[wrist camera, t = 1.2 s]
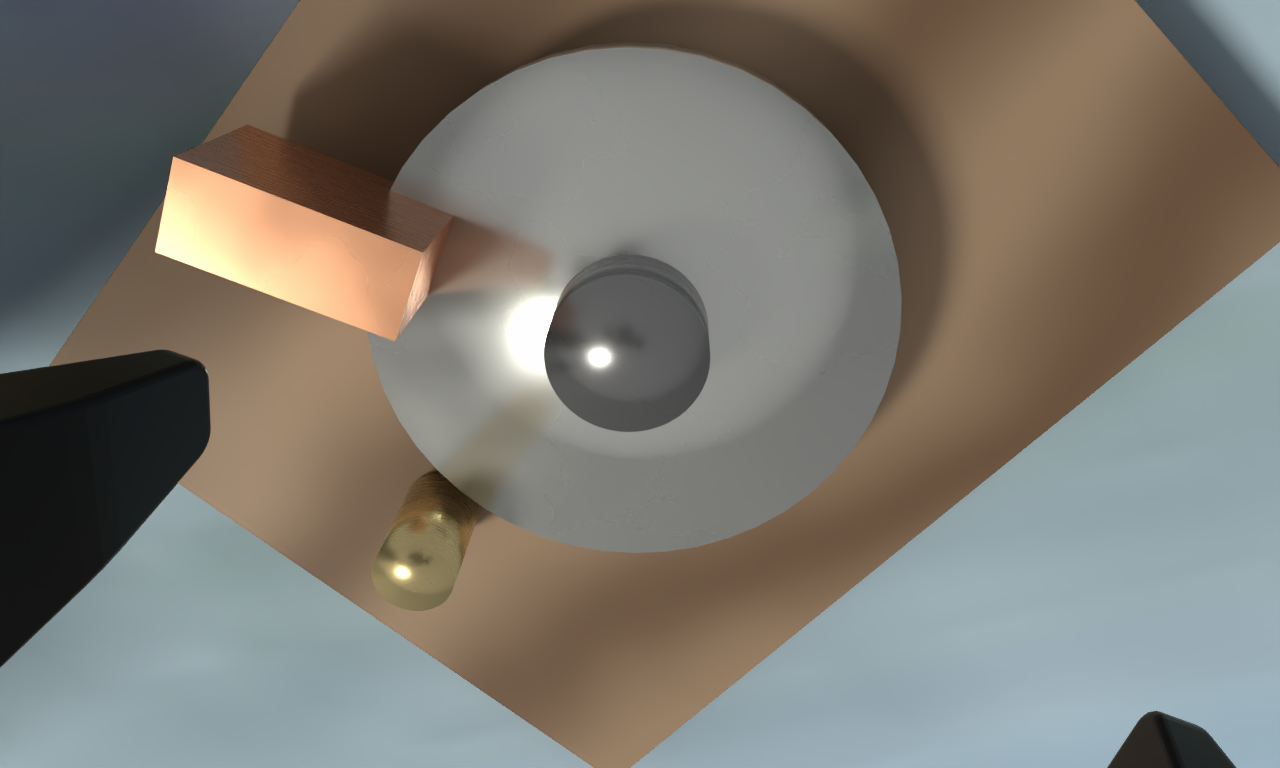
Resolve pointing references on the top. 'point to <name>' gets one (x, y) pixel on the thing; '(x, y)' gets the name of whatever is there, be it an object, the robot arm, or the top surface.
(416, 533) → the brass dowel
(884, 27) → the base board
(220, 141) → the flange plate
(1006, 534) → the top surface
